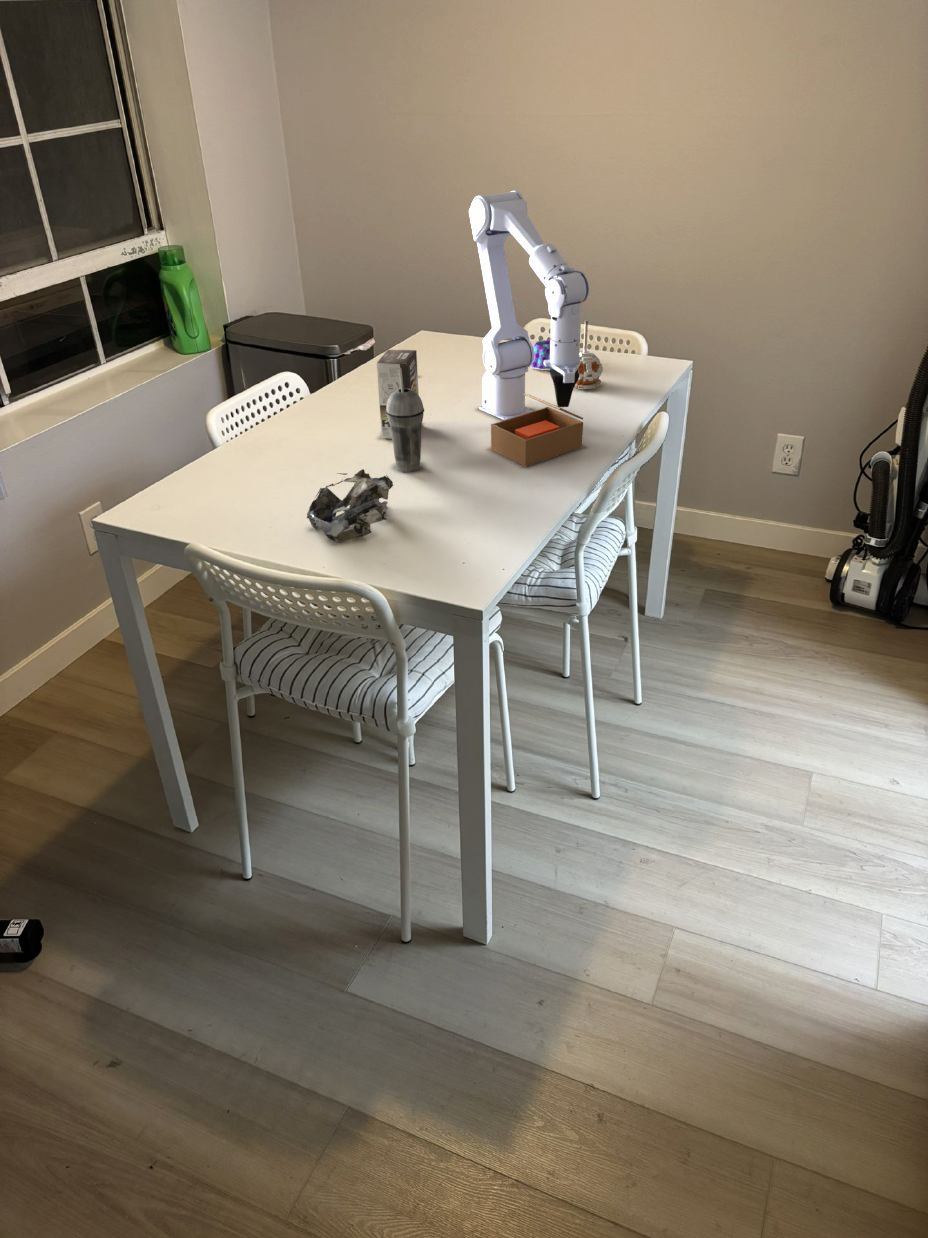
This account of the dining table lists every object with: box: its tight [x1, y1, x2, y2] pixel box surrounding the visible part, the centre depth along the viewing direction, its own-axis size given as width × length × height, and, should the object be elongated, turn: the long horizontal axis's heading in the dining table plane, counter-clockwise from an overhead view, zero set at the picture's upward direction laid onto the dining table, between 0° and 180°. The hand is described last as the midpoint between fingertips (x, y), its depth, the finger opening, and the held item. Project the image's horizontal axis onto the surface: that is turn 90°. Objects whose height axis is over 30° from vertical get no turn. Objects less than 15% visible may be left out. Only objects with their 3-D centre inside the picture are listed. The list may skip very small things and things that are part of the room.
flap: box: [524, 392, 584, 421], centre depth 189 cm, size 7×11×1 cm
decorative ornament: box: [574, 319, 604, 390], centre depth 217 cm, size 8×8×15 cm
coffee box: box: [376, 349, 420, 440], centre depth 196 cm, size 9×6×16 cm
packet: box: [515, 420, 559, 440], centre depth 190 cm, size 4×8×4 cm, turn 127°
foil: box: [306, 468, 394, 544], centre depth 164 cm, size 12×11×15 cm
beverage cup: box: [386, 368, 425, 473], centre depth 180 cm, size 7×7×20 cm
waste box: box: [490, 406, 584, 468], centre depth 190 cm, size 15×11×5 cm
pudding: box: [528, 339, 553, 371], centre depth 233 cm, size 12×12×5 cm
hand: (562, 405), depth 191 cm, fingers closed
